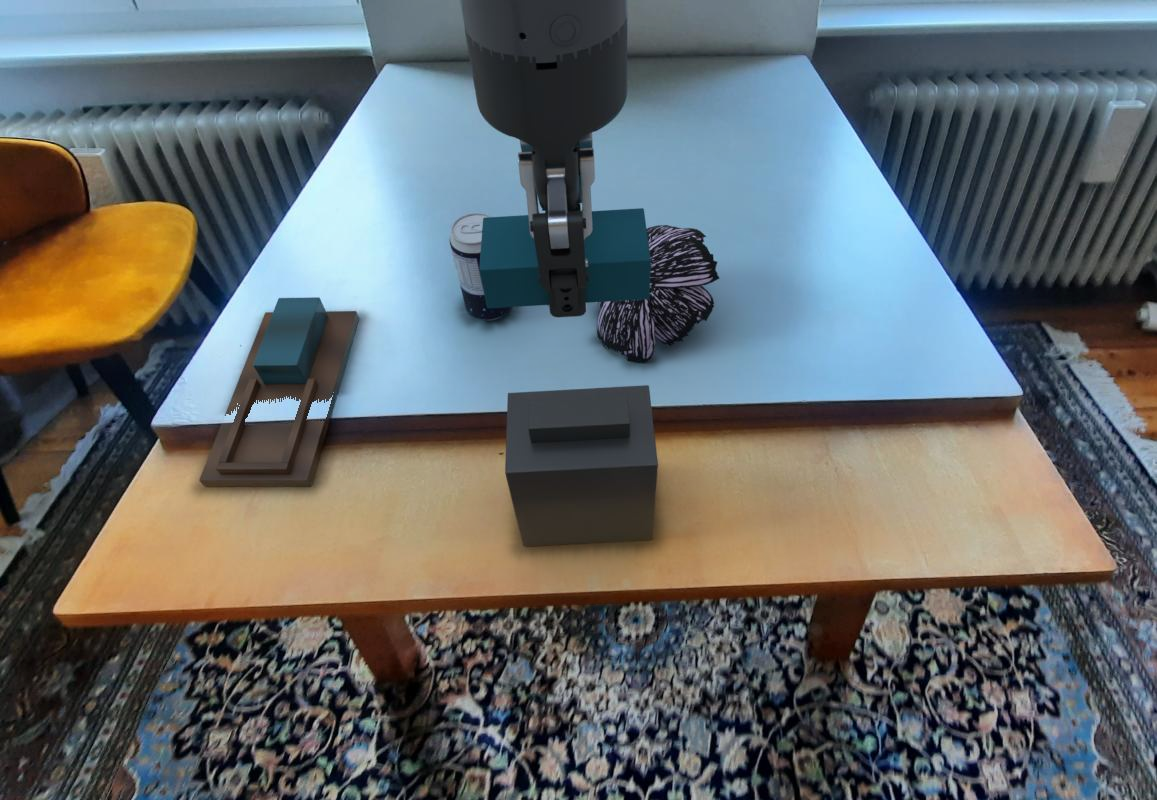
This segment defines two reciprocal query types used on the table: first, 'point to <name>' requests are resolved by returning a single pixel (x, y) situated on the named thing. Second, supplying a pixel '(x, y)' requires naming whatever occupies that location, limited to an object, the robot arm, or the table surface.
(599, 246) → the back pad
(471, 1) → the robot arm
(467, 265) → the beverage can
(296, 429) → the brown flat rectangular board
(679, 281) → the decorative flower
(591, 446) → the pad stand
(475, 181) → the table surface
